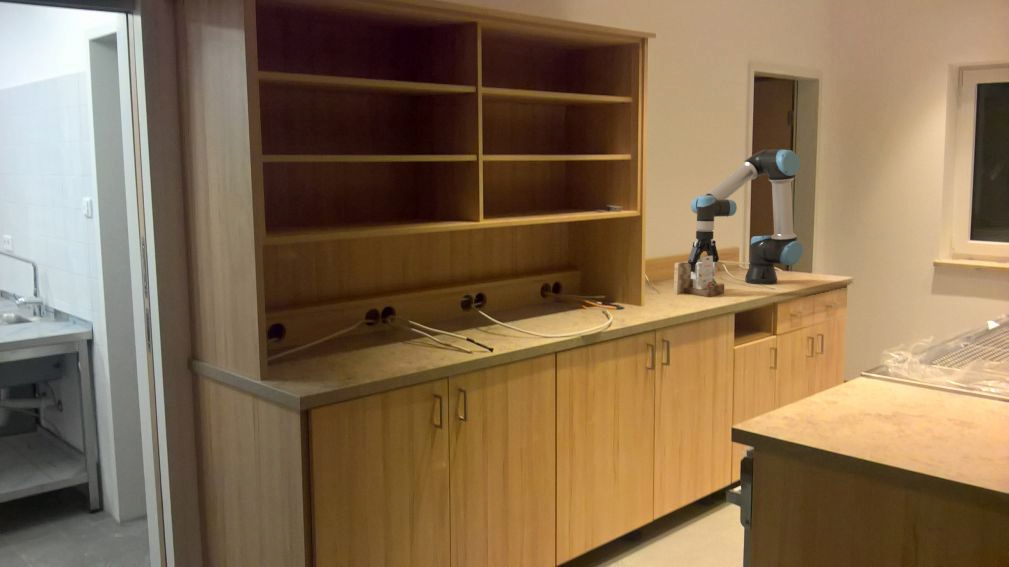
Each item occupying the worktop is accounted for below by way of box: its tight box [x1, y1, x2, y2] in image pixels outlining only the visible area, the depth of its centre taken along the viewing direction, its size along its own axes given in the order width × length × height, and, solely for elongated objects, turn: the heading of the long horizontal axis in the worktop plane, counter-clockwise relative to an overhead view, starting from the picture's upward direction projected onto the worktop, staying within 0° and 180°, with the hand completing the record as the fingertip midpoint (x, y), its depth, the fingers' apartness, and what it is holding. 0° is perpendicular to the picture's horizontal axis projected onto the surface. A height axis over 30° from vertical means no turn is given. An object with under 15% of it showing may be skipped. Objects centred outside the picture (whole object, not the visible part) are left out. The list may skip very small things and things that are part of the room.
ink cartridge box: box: [693, 255, 714, 290], centre depth 379 cm, size 9×5×15 cm, turn 132°
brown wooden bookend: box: [673, 258, 725, 298], centre depth 380 cm, size 22×15×14 cm
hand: (702, 277), depth 380 cm, fingers open, 13 cm apart
